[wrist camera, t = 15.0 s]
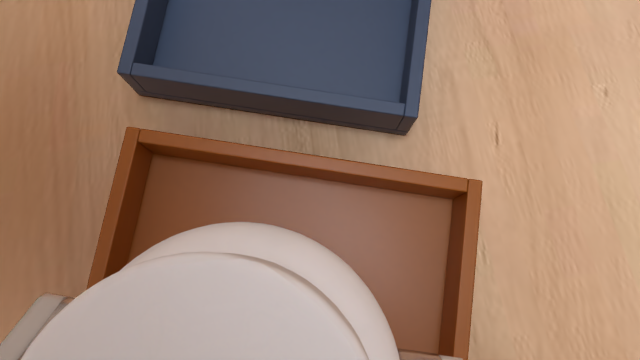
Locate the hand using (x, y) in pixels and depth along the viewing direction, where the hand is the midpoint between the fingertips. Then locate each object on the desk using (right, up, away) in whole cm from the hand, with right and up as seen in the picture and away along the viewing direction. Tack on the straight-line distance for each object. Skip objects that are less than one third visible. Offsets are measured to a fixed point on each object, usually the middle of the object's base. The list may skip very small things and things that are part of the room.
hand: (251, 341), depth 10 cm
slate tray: (0, +12, +13) cm, 18 cm away
